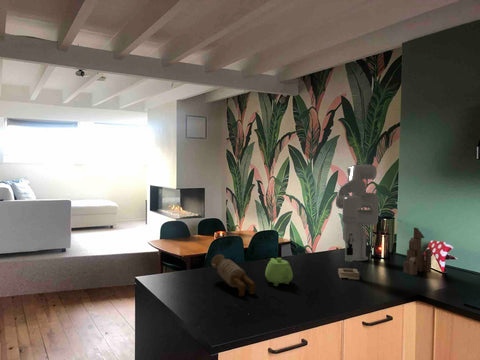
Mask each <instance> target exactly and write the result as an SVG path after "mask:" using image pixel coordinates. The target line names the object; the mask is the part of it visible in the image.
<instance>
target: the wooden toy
mask: <svg viewBox="0 0 480 360" xmlns="http://www.w3.org/2000/svg"><path fill="white" fill-rule="evenodd" d="M424 238H425V236H424V234H423V233H422V232H421V231H420V229H419V228H418V227H413V237H411V238H410V239H409V241H408V249H406V260H404V261H403V264H402V265H403V267H402V269H403V270H402V272H403V273H404V274H407V275H409V276H410V275H411V276H417V275H418V272H424V273H429V274H430V273H432V249H430V248H425V250H424V254H423V253H422V239H424Z"/></svg>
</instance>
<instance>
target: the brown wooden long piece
mask: <svg viewBox="0 0 480 360" xmlns="http://www.w3.org/2000/svg"><path fill="white" fill-rule="evenodd" d="M210 264H211V266H212V268H213V269H217V271H216V273H217V274H218V275H219V277H220V278H222V279H223V284H224V285H229V287H231V288H237V290H238V296H239V297H244V296H245V293H246V292H245V291H246V286H247V287H248V288H249V289H248V290H249V291H248V294H249V295H254V294H255V289H256V282H254V281H253V280H252V279H250V277H249V276H248V275H247V274H246V272H245V270H244V269H243V268H241V267H240V266H239V265H238V264H236V263H235V262H234V261H233V260H231V259H229V258H226V259H225V256H224V255H223V254H216V255H214V256H213V257H212V259H211V263H210Z"/></svg>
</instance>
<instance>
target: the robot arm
mask: <svg viewBox="0 0 480 360" xmlns="http://www.w3.org/2000/svg"><path fill="white" fill-rule="evenodd" d="M346 173H347V176H348V177H347V182H345V183H344V184H342V185H341V187H339V188H338V190H337V193H336V198H335V206H336V207H337V208H338V209H341V210H342V223H343V231H342V240H343V241H344V242H346V241H347V255H353V261H355V262H356V261H357V262H360V261H361V262H364V261H368V260H369V257H368V256H366V249H367V248H366V247H367V246H366V242H367V233H366V232H367V231H366V229H365V227H364V226H376V225H378V223H379V197H378V194H377V193H374V192H368V191H367V184H366V182H365V181H364V180H375V179H376V178H377V177H376V176H377V173H378V172H377V167H376V166H375V165H373V164H361V163H360V164H352V165H349V166H348V167H347V170H346ZM348 194H351V195H348ZM362 208H364V209H362ZM366 208H367V209H366ZM363 225H364V226H363ZM348 241H350V242H348Z"/></svg>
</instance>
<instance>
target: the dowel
mask: <svg viewBox="0 0 480 360" xmlns="http://www.w3.org/2000/svg"><path fill="white" fill-rule="evenodd" d="M344 242H345V241H344ZM348 242H350V241H348ZM344 245H345V246H344V247H345V248H344V261H345V262H347V263H349V262H353V261H354V260H353V255H347V241H346V242H345V244H344Z"/></svg>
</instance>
